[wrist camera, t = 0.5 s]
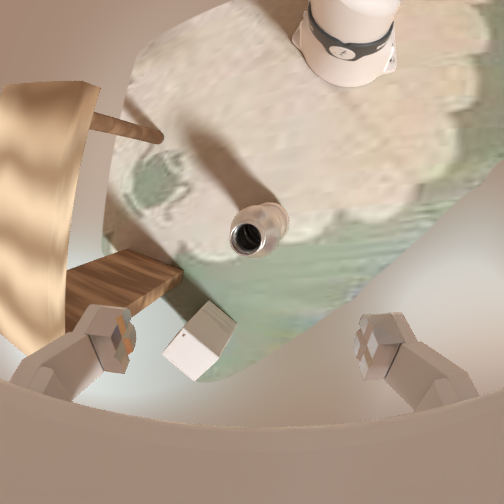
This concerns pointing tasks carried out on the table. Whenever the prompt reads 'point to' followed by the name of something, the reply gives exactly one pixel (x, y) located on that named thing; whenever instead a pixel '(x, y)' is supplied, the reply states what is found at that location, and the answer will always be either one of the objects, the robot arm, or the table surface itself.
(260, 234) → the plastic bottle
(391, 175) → the table surface
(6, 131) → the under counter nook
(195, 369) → the supplement box
